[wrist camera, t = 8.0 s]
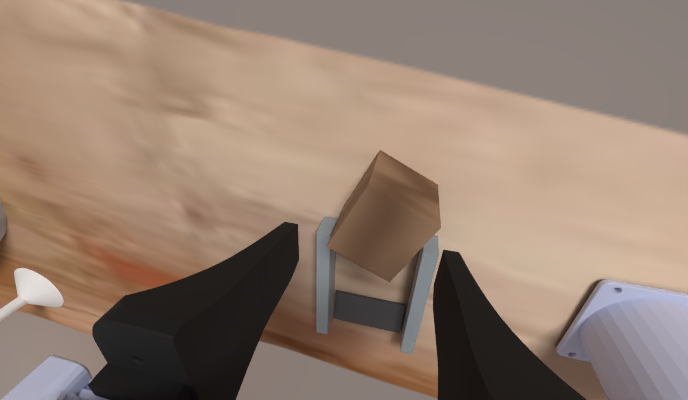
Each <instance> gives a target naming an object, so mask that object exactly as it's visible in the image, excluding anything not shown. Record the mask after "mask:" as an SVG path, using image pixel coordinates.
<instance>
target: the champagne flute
mask: <svg viewBox="0 0 688 400" xmlns="http://www.w3.org/2000/svg"><path fill="white" fill-rule="evenodd" d="M14 276H15V282H16V288H17V294H18V297H17V298H16V299H14V300H13V301H11V302H10V303H8V304H7V305H5V306H4V307H3V308H1V309H0V322H1V321H3V320H4V319H5V318H7V317H8V316H10V315H11V314H12V313H14V312H15V311H17V310H18V309H19V308H21V307H22V306H24V305H25V304H26V303H27V304H34V305H42V306H49V307H61V306H62V305H63V303H64V300H63V297H62V295H61V293H60V292H59V290H58V289H57V288H56V287H55V286H54V285H53V284H52V283H51V282H50V281H49V280H48V279H46V278H45V277H43V276H42V275H40V274H38V273H37V272H34V271H32V270H29V269H26V268H18V269H16V270H15V272H14Z"/></svg>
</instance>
